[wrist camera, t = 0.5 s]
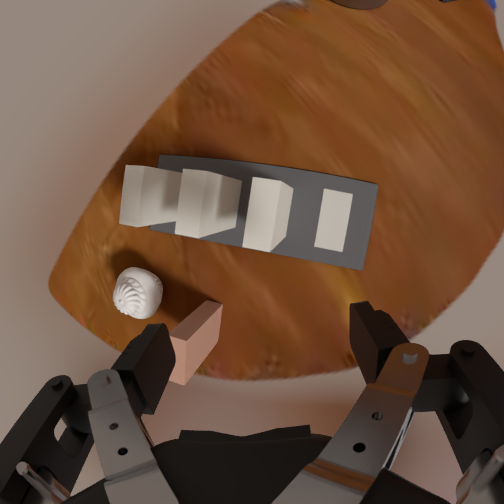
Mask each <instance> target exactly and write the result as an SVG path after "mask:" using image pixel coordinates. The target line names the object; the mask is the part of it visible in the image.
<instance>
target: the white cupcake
mask: <svg viewBox="0 0 504 504" xmlns="http://www.w3.org/2000/svg"><path fill="white" fill-rule="evenodd" d="M162 293H163V285H162V283H161V281H160V279H159V277H157V276H156V275H155V274H153V273H151V272H149V271H148V270H144V269H140V268H137V267H131V268H128V269H126V270H124V271H123V272H122V273H121V274H120V275H119V277H118V279H117V282H116V288H115V290H114V292H113V301H114V305H115V306H117V309H119V310H120V312H121V313H123V312H124V313H125V314H126V315H127V314H129V315H130V316H132V317H134V318H138V319H146V318H148V317H150V316H152V315H153V314H154V313H155V312H156V310H157V309H158V307H159V304H160V303H161V299H162Z"/></svg>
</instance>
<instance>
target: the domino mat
mask: <svg viewBox="0 0 504 504" xmlns="http://www.w3.org/2000/svg"><path fill="white" fill-rule="evenodd" d="M157 168H159V169H164V170H170V171H175V172H180V173H183V169H192V170H202V171H209V172H213V173H216V174H220V175H224V176H227V177H231V178H234V179H238V180H241V181H242V186H241V193H240V199H239V206H238V213H237V219H236V226H235V228H232V229H228V230H225V231H221V232H218V233H214V234H211V235H208V236H204V237H201V238H197V239H202V240H207V241H212V242H217V243H223V244H228V245H233V246H238V247H242V245H243V239H244V232H245V225H246V219H247V212H248V205H249V199H250V192H251V186H252V179H253V177H258V178H265V179H272V180H278V181H282V182H284V183H285V184H287V185H288V186H290V187H292V188H293V195H292V201H291V207H290V213H289V219H288V225H287V231H286V237H285V238H284V239H283V240H282V241H281V242H280V243H279V244H278V245H277V246H276V247H275V248H274V249H273V250H272V251H270V252H269V253H274V254H280V255H285V256H290V257H295V258H300V259H305V260H310V261H316V262H321V263H326V264H331V265H336V266H341V267H346V268H351V269H356V270H362V269H363V265H364V260H365V256H366V251H367V246H368V241H369V236H370V231H371V226H372V221H373V215H374V209H375V203H376V197H377V190H378V185H377V184H373V183H368V182H363V181H359V180H354V179H349V178H344V177H339V176H333V175H328V174H323V173H317V172H311V171H305V170H299V169H293V168H286V167H279V166H272V165H265V164H257V163H249V162H241V161H232V160H223V159H213V158H201V157H189V156H175V155H159V160H158V167H157ZM175 226H176V221H174V222H167V223H161V224H154V225H150V230H155V231H160V232H165V233H170V234H175ZM176 235H178V234H176ZM181 236H184V235H181ZM186 237H189V236H186ZM191 238H194V237H191ZM243 248H245V247H243ZM249 249H250V248H249ZM254 250H256V249H254ZM259 251H261V250H259ZM264 252H266V251H264Z"/></svg>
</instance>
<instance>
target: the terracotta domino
mask: <svg viewBox="0 0 504 504" xmlns="http://www.w3.org/2000/svg"><path fill="white" fill-rule="evenodd" d="M222 306H223V304H220V303H216V302H212V301H208V300H206V301H205V302H204V303H203V304H202V305H200V306H199V307H198V308H197V309H196V310H195V311H193V312H192V313H191V314H190V315H189V316H187V317H186V318H185V319H184V320H183V321H182V322H180V323H179V324H178V325H177V326H176V327H175V328H173V329H172V330H171V331H170V332H169V335H170V338H171V342H172V345H173V348H174V351H175V355H176V363H175V367H174V369H173V371H172V373H171V376H170V378H169V380H170V381H173V382H176V383H178V384H182V385H185V384H186V383H187V381H188V380H189V378H190V377H191V376H192V375H193V374H194V372H195V371H196V370H197V368H198V367H199V366H200V364H201V363H202V362H203V360H204V359H205V358H206V357H207V355H208V354H209V353H210V351H211V350H212V349H213V347H214V346H215V345H216V343H217V342H218V338H219V330H220V322H221V314H222Z"/></svg>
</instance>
